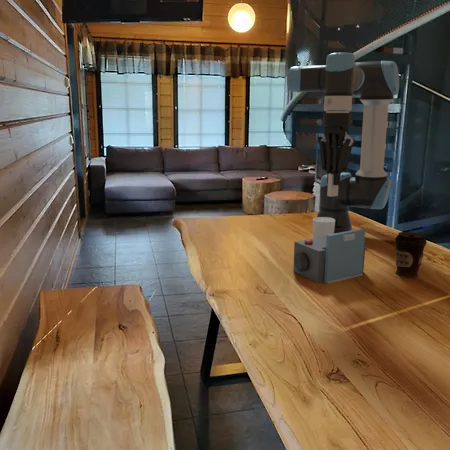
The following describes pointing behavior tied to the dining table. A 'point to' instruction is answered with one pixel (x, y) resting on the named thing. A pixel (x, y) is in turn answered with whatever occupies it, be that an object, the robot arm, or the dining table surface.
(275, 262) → the dining table surface
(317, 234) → the white cup
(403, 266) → the coffee cup
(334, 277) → the side door
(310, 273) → the grey notched block
